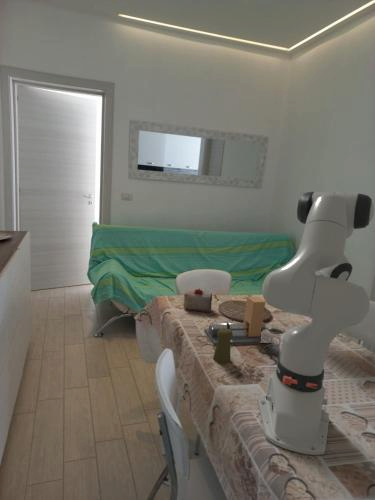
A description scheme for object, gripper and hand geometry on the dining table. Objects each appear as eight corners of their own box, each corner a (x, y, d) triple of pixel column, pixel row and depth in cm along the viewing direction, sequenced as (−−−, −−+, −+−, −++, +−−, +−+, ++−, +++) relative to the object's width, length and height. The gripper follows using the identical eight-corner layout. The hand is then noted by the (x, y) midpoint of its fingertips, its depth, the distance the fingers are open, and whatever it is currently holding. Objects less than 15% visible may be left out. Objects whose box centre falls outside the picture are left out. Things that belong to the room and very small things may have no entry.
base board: (257, 329, 146) (257, 327, 146) (271, 343, 135) (271, 340, 134) (204, 331, 139) (204, 328, 139) (214, 345, 128) (214, 342, 128)
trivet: (233, 300, 182) (233, 296, 181) (278, 314, 168) (279, 310, 167) (208, 312, 162) (208, 308, 161) (257, 329, 148) (257, 325, 147)
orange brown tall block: (253, 329, 142) (258, 296, 139) (260, 336, 136) (265, 302, 133) (242, 330, 140) (247, 296, 138) (248, 336, 135) (253, 302, 132)
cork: (229, 365, 115) (233, 335, 113) (212, 361, 116) (215, 331, 114) (231, 356, 121) (235, 327, 119) (214, 353, 122) (217, 324, 120)
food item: (181, 310, 160) (183, 290, 158) (183, 304, 167) (185, 285, 166) (210, 314, 159) (213, 294, 157) (211, 308, 166) (213, 288, 164)
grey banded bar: (261, 331, 142) (263, 320, 141) (266, 335, 138) (267, 324, 137) (208, 333, 135) (209, 321, 134) (211, 337, 132) (213, 325, 131)
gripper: (296, 266, 149) (268, 266, 146) (326, 280, 130) (295, 280, 126) (294, 280, 151) (266, 280, 147) (323, 296, 131) (292, 296, 128)
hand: (279, 280), depth 136 cm, fingers open, 4 cm apart
